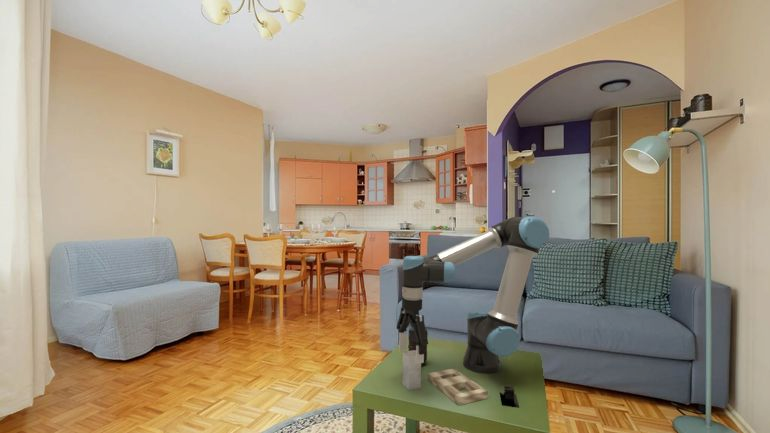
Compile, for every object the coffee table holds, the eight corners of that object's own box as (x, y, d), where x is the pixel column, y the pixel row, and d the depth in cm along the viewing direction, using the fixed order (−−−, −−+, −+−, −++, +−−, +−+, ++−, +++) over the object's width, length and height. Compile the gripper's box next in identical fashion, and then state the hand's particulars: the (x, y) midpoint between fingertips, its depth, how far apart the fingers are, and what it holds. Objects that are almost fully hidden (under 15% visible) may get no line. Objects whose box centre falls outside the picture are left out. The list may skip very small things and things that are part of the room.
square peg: (414, 382, 132) (414, 350, 132) (420, 387, 127) (421, 354, 127) (402, 384, 130) (402, 351, 130) (408, 390, 125) (408, 356, 125)
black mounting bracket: (496, 391, 126) (496, 378, 126) (518, 393, 124) (517, 380, 124) (499, 409, 114) (499, 395, 114) (523, 412, 112) (523, 397, 112)
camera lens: (426, 368, 144) (426, 332, 144) (407, 366, 145) (407, 330, 146) (428, 360, 152) (428, 326, 152) (409, 359, 153) (409, 325, 154)
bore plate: (453, 374, 138) (453, 368, 138) (487, 398, 120) (487, 391, 120) (427, 380, 133) (427, 373, 133) (458, 405, 115) (458, 397, 115)
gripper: (389, 292, 139) (387, 345, 138) (419, 306, 116) (418, 370, 115) (405, 291, 142) (404, 343, 141) (439, 305, 119) (437, 367, 118)
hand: (410, 356), depth 128 cm, fingers open, 13 cm apart
